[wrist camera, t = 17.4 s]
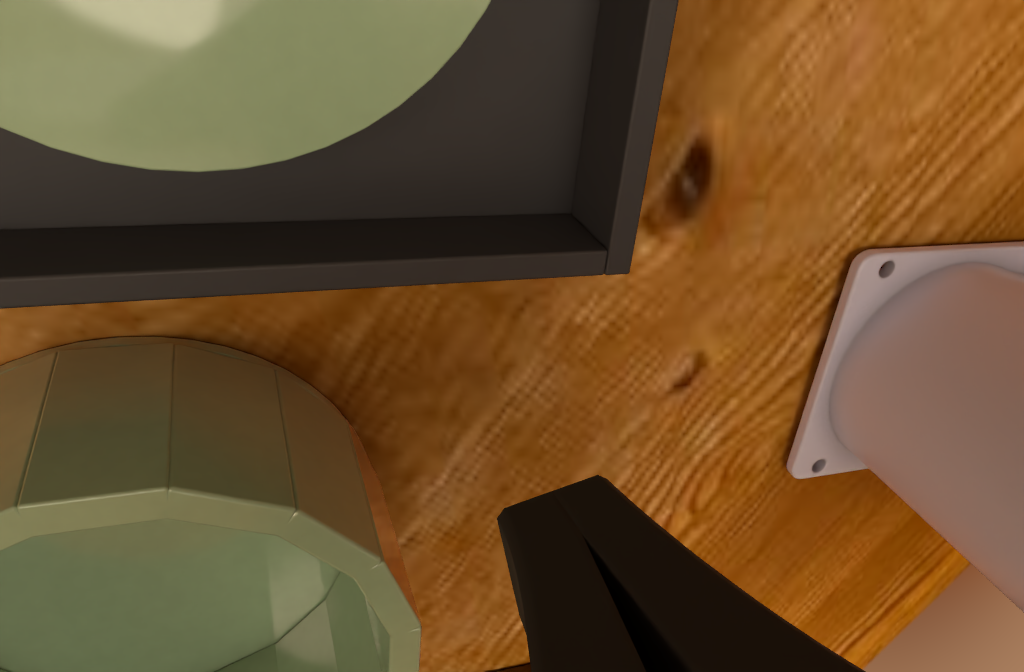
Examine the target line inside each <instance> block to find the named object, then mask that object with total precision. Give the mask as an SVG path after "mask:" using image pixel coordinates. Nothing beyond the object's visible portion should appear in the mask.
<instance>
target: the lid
mask: <svg viewBox="0 0 1024 672" xmlns="http://www.w3.org/2000/svg"><path fill="white" fill-rule="evenodd" d="M490 2H491V0H0V128H3V129H5V130H8V131H10V132H13V133H15V134H18V135H20V136H23V137H25V138H28V139H30V140H33V141H35V142H38V143H40V144H43V145H45V146H48V147H50V148H54V149H57V150H61V151H64V152H68V153H72V154H75V155H79V156H82V157H86V158H89V159H93V160H97V161H100V162H105V163H111V164H118V165H124V166H130V167H136V168H142V169H148V170H163V171H183V172H208V171H222V170H237V169H246V168H251V167H256V166H261V165H266V164H271V163H277V162H282V161H287V160H290V159H293V158H296V157H299V156H302V155H305V154H308V153H311V152H314V151H317V150H320V149H323V148H326V147H328V146H330V145H332V144H334V143H337V142H339V141H341V140H343V139H345V138H347V137H349V136H351V135H353V134H355V133H357V132H359V131H362V130H364V129H365V128H367V127H368V126H370V125H372V124H373V123H375V122H376V121H378V120H379V119H381V118H382V117H384V116H385V115H387V114H388V113H390V112H391V111H393V110H395V109H396V108H398V107H399V106H400V105H402V104H403V103H404V102H405V101H406V100H407V99H409V98H410V97H411V96H412V95H413V94H414V93H416V92H417V91H418V90H419V89H420V88H421V87H423V86H424V85H425V84H426V83H427V82H429V81H430V80H431V79H432V78H433V77H434V76H435V75H436V73H437V72H438V71H439V70H440V69H441V68H442V67H443V66H444V65H445V64H446V62H447V61H448V60H449V59H450V58H451V57H452V56H453V55H454V54H455V52H456V51H457V50H458V49H459V48H460V47H461V45H462V44H463V43H464V41H465V40H466V38H467V37H468V35H469V34H470V33H471V31H472V30H473V28H474V27H475V25H476V24H477V23H478V21H479V20H480V18H481V17H482V15H483V14H484V13H485V11H486V9H487V8H488V6H489V4H490Z"/></svg>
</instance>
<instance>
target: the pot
mask: <svg viewBox="0 0 1024 672" xmlns="http://www.w3.org/2000/svg"><path fill="white" fill-rule="evenodd" d="M421 632H422V626H421V621H420V618H419V614H418V611H417V607H416V604H415V601H414V597H413V594H412V590H411V587H410V583H409V580H408V576H407V573H406V570H405V566H404V563H403V559H402V556H401V552H400V549H399V545H398V542H397V539H396V535H395V532H394V528H393V525H392V521H391V518H390V515H389V511H388V508H387V504H386V501H385V497H384V494H383V490H382V487H381V484H380V480H379V478H378V476H377V474H376V472H375V470H374V469H373V467H372V465H371V463H370V460H369V458H368V456H367V453H366V451H365V449H364V446H363V444H362V442H361V440H360V438H359V437H358V435H357V434H356V432H355V431H354V429H353V428H352V426H351V424H350V423H349V421H348V420H347V419H346V418H345V417H344V416H343V415H342V413H341V412H340V411H339V410H338V409H337V408H336V407H335V406H334V405H333V403H332V402H331V401H329V400H328V399H327V398H326V397H324V396H323V395H322V394H321V393H320V392H318V391H317V390H316V389H315V388H314V387H312V386H311V385H310V384H308V383H307V382H305V381H303V380H302V379H300V378H298V377H297V376H295V375H294V374H292V373H290V372H289V371H287V370H286V369H283V368H281V367H279V366H277V365H275V364H272V363H270V362H268V361H266V360H264V359H262V358H259V357H257V356H254V355H251V354H248V353H245V352H241V351H238V350H235V349H232V348H229V347H226V346H221V345H216V344H211V343H206V342H201V341H196V340H189V339H178V338H167V337H156V336H155V337H115V338H107V339H98V340H90V341H82V342H77V343H73V344H68V345H64V346H60V347H55V348H51V349H47V350H43V351H40V352H37V353H34V354H31V355H28V356H26V357H23V358H20V359H17V360H14V361H11V362H8V363H6V364H4V365H2V366H0V672H419V665H420V648H421Z"/></svg>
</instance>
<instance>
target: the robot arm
mask: <svg viewBox="0 0 1024 672" xmlns="http://www.w3.org/2000/svg"><path fill="white" fill-rule="evenodd" d="M884 263H885V264H884ZM883 264H884V266H883V268H881V266H882V265H883ZM880 268H881V269H880ZM786 468H787V470H788V472H789V473H790V474H791V475H792V476H793V477H795V478H796V479H804V478H810V477H817V476H823V475H830V474H836V473H843V472H849V471H856V470H862V469H868V468H869V469H870V470H871V471H872V472H873V473H874V474H875V475H876V476H878V477H879V478H880V479H881V480H882V481H883V482H884V483H885V484H886V485H887V486H888V487H889V488H890V489H892V490H893V491H894V492H895V493H896V494H897V495H898V496H899V497H900V498H901V499H902V500H903V501H904V502H906V503H907V504H908V505H909V506H910V507H911V508H912V509H913V510H914V511H915V512H916V513H917V514H918V515H920V516H921V517H922V518H923V519H924V520H925V521H926V522H927V523H928V524H929V525H930V526H931V527H932V528H933V529H935V530H936V531H937V532H938V533H939V534H940V535H941V536H942V537H943V538H944V539H945V540H946V541H947V542H949V543H950V544H951V545H952V546H953V547H954V548H955V549H956V550H957V551H958V552H959V553H960V554H961V555H963V556H964V557H965V558H966V559H967V560H968V561H969V562H970V563H971V564H972V565H973V566H974V567H975V568H977V569H978V570H979V571H980V572H981V573H982V574H983V575H984V576H985V577H986V578H987V579H988V580H989V581H991V582H992V583H993V584H994V585H995V586H996V587H997V588H998V589H999V590H1000V591H1001V592H1003V594H1004V595H1006V596H1007V597H1008V598H1009V599H1010V600H1011V601H1012V602H1013V603H1014V604H1015V605H1016V606H1018V607H1019V608H1020V609H1021V610H1022V611H1023V612H1024V241H1021V242H1001V243H981V244H961V245H941V246H921V247H902V248H882V249H868V250H864V251H863V252H861V253H860V254H858V255H857V256H856V257H855V258H854V259H853V261H852V263H851V265H850V268H849V272H848V275H847V278H846V281H845V284H844V287H843V290H842V293H841V296H840V300H839V303H838V306H837V309H836V312H835V315H834V318H833V321H832V324H831V328H830V331H829V334H828V337H827V340H826V343H825V346H824V349H823V352H822V355H821V359H820V362H819V365H818V368H817V371H816V374H815V377H814V380H813V383H812V387H811V390H810V393H809V396H808V399H807V402H806V405H805V408H804V411H803V415H802V418H801V421H800V424H799V427H798V430H797V433H796V436H795V439H794V443H793V446H792V449H791V452H790V455H789V458H788V461H787V467H786ZM497 520H498V525H499V529H500V533H501V538H502V542H503V546H504V551H505V555H506V559H507V563H508V568H509V572H510V576H511V581H512V585H513V589H514V594H515V598H516V602H517V606H518V611H519V615H520V618H521V621H522V623H523V626H524V629H525V632H526V635H527V641H528V649H529V657H530V665H531V672H865V671H864V670H862V669H860V668H859V667H857V666H855V665H854V664H852V663H851V662H849V661H847V660H846V659H844V658H842V657H841V656H839V655H838V654H836V653H834V652H833V651H831V650H830V649H828V648H827V647H825V646H824V645H822V644H820V643H819V642H817V641H816V640H814V639H813V638H811V637H810V636H808V635H807V634H805V633H804V632H802V631H801V630H799V629H798V628H796V627H795V626H793V625H792V624H790V623H789V622H787V621H786V620H784V619H783V618H781V617H780V616H778V615H777V614H775V613H774V612H773V611H771V610H770V609H768V608H767V607H766V606H764V605H763V604H761V603H760V602H758V601H757V600H756V599H754V598H753V597H751V596H750V595H749V594H747V593H746V592H745V591H743V590H742V589H741V588H739V587H738V586H737V585H735V584H734V583H732V582H731V581H730V580H728V579H727V578H726V577H724V576H723V575H722V574H720V573H719V572H718V571H716V570H715V569H714V568H712V567H711V566H710V565H708V564H707V563H706V562H704V561H703V560H702V559H701V558H699V557H698V556H697V555H695V554H694V553H693V552H692V551H690V550H689V549H688V548H687V547H685V546H684V545H683V544H682V543H680V542H679V541H678V540H677V539H675V538H674V537H673V536H672V535H671V534H669V533H668V532H667V531H666V530H664V529H663V528H662V527H661V526H660V525H658V524H657V523H656V522H655V521H654V520H652V519H651V518H650V517H649V516H648V515H647V514H645V513H644V512H643V511H642V510H641V509H640V508H638V507H637V506H636V505H635V504H634V503H633V502H632V501H630V500H629V499H628V498H627V497H626V496H625V495H624V494H623V493H622V492H620V491H619V490H618V489H617V488H616V487H615V486H614V485H613V484H612V483H611V482H610V481H609V480H607V479H606V478H604V477H602V476H599V475H596V476H593V477H591V478H588V479H585V480H582V481H579V482H577V483H574V484H571V485H568V486H565V487H563V488H560V489H557V490H554V491H551V492H549V493H546V494H543V495H540V496H537V497H534V498H532V499H529V500H526V501H523V502H520V503H518V504H515V505H512V506H509V507H506V508H504V510H503V511H502V512H501V514H500V515H499V516H498V518H497Z"/></svg>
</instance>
